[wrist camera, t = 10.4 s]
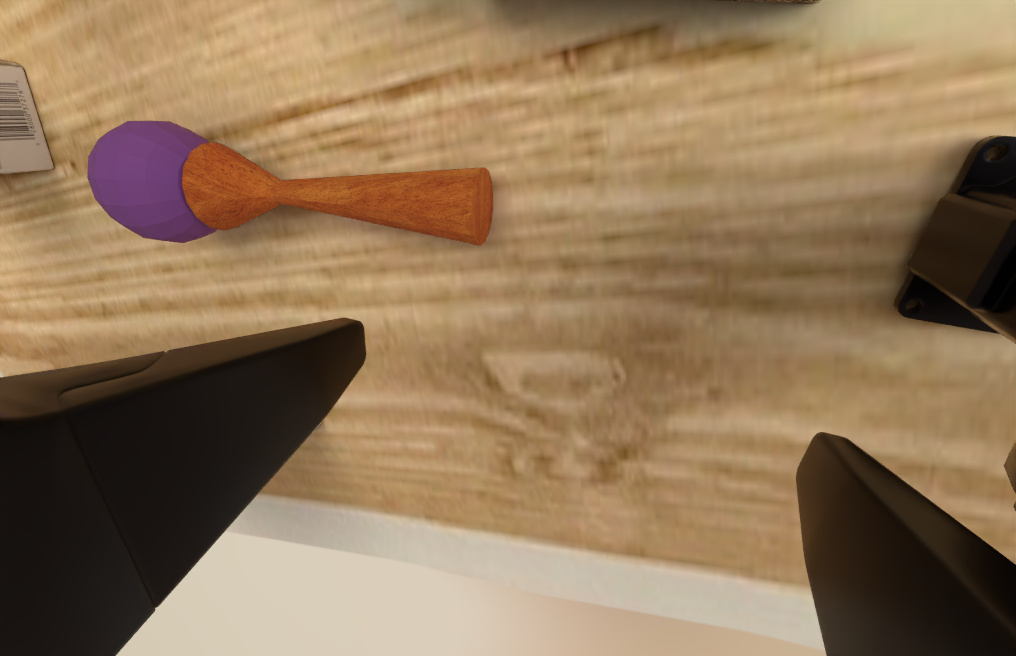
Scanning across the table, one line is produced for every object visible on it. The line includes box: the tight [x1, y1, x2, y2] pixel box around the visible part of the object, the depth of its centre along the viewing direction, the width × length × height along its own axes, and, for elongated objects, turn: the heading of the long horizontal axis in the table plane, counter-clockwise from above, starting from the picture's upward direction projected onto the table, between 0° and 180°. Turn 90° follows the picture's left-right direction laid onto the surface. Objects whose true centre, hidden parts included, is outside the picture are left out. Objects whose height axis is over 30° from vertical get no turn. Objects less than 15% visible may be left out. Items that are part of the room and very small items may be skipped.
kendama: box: [88, 121, 493, 246], centre depth 22 cm, size 6×6×20 cm
